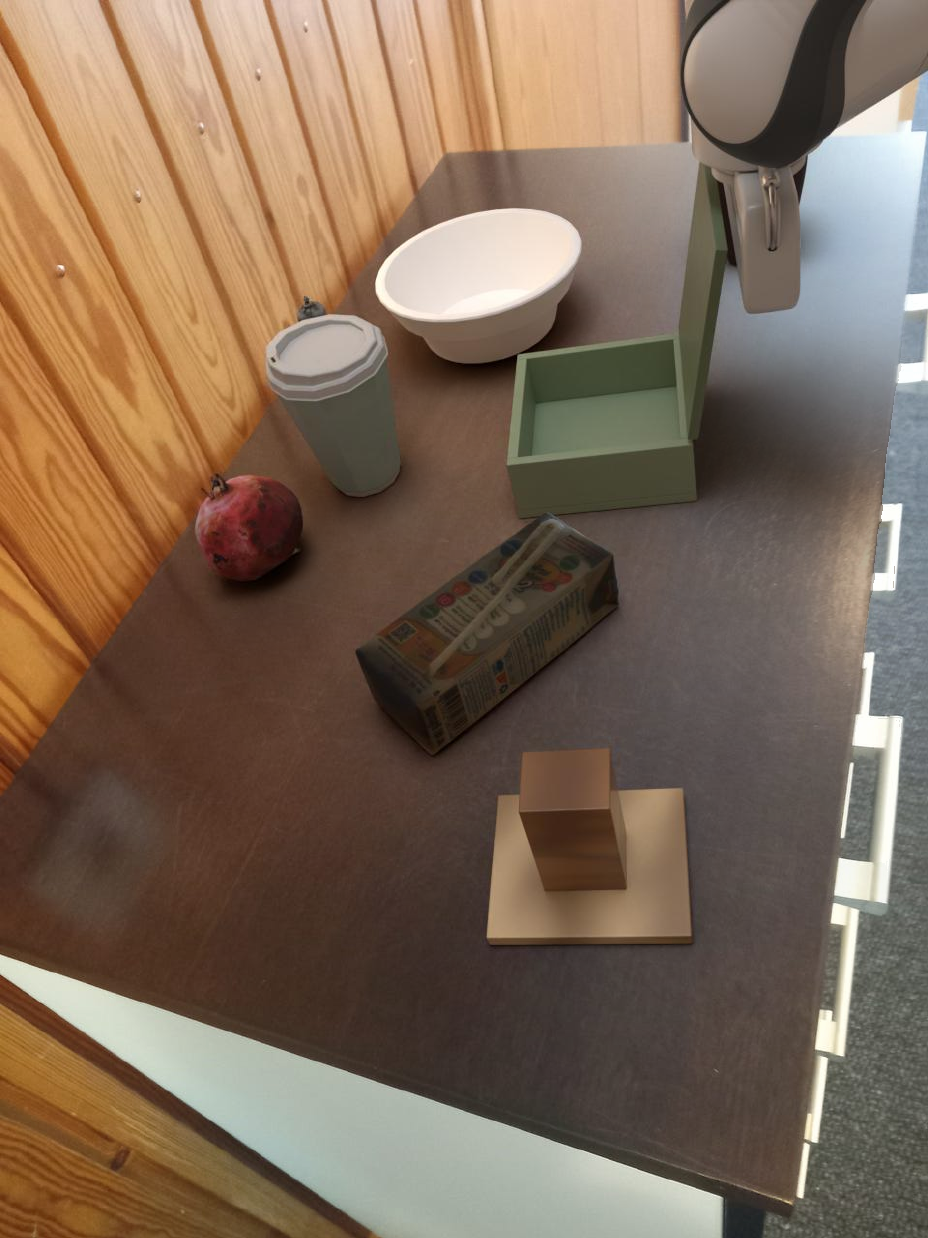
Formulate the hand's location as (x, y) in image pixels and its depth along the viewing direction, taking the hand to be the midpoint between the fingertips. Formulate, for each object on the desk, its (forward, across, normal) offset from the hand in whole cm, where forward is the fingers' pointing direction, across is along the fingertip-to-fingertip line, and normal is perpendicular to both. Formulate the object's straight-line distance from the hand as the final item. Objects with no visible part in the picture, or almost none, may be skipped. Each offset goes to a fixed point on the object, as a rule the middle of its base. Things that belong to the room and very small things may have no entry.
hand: (758, 299), depth 79 cm
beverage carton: (+13, -23, +21) cm, 34 cm away
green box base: (+13, 0, +13) cm, 18 cm away
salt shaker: (+13, +13, +40) cm, 44 cm away
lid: (-1, 0, +5) cm, 5 cm away
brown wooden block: (+12, -41, +14) cm, 45 cm away
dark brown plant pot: (+13, +32, -3) cm, 35 cm away
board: (+13, -41, +14) cm, 45 cm away
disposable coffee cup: (+13, 0, +35) cm, 37 cm away
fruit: (+13, -10, +43) cm, 46 cm away
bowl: (+13, +22, +25) cm, 36 cm away
